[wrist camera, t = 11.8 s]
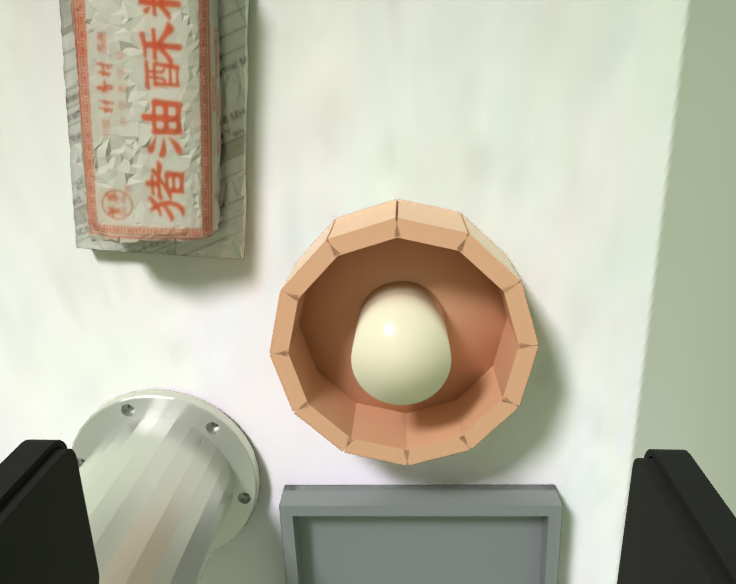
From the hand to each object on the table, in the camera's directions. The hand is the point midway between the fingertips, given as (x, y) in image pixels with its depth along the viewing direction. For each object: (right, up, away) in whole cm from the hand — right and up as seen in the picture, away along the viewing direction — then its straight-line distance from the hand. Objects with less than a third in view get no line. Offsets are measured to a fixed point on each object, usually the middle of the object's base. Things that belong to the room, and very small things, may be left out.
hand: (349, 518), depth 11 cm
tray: (+4, -18, +36) cm, 40 cm away
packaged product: (-11, +15, +26) cm, 32 cm away
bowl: (+2, +2, +29) cm, 29 cm away
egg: (+2, +2, +28) cm, 28 cm away
